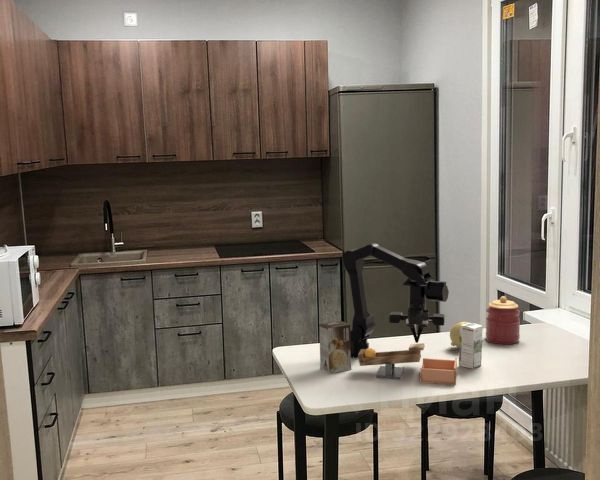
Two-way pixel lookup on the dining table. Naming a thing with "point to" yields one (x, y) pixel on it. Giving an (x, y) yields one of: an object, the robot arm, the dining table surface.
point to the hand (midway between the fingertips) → (416, 342)
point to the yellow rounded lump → (456, 334)
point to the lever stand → (390, 372)
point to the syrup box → (470, 345)
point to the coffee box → (335, 347)
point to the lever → (393, 356)
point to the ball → (369, 353)
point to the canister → (502, 322)
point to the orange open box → (439, 371)
